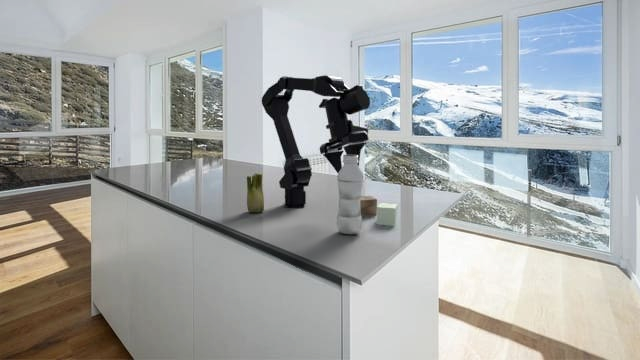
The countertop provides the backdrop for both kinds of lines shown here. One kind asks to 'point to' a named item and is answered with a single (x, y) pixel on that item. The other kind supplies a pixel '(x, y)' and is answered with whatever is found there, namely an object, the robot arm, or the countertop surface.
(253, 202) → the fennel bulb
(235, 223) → the countertop surface
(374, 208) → the walnut block
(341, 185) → the plastic bottle
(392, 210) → the sage block
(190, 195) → the countertop surface
